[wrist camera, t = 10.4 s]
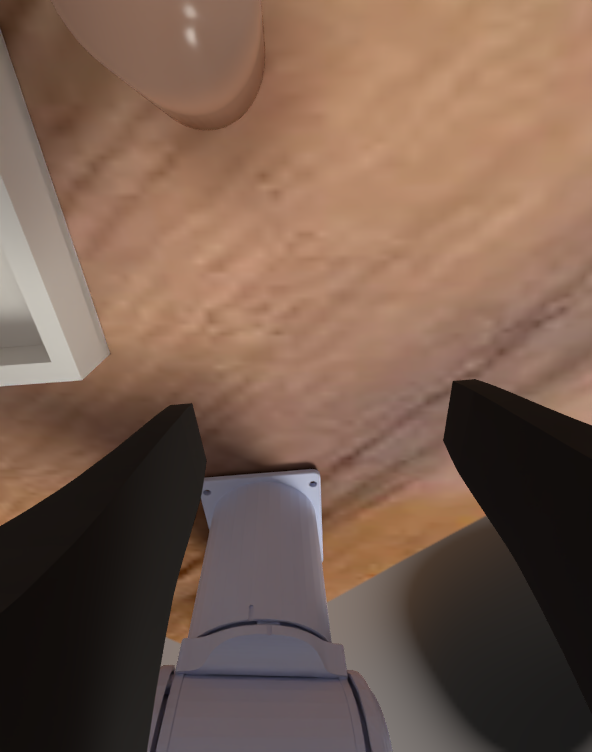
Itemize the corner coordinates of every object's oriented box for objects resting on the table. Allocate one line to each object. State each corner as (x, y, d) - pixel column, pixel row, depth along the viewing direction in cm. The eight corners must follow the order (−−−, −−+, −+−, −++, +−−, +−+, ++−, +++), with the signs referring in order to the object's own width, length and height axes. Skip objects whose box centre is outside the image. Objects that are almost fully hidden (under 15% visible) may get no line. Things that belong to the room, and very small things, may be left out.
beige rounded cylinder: (271, 126, 14) (267, 82, 9) (149, 134, 14) (72, 94, 9) (257, -51, 12) (241, -254, 6) (112, -43, 12) (-25, -243, 6)
